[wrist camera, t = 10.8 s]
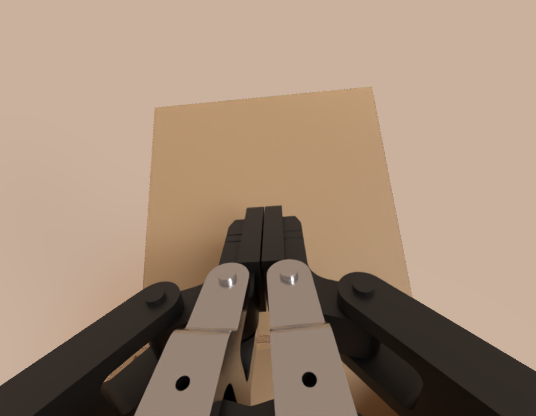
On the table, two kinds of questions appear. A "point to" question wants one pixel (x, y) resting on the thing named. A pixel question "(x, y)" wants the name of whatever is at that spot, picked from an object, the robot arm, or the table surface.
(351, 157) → the carton flap
